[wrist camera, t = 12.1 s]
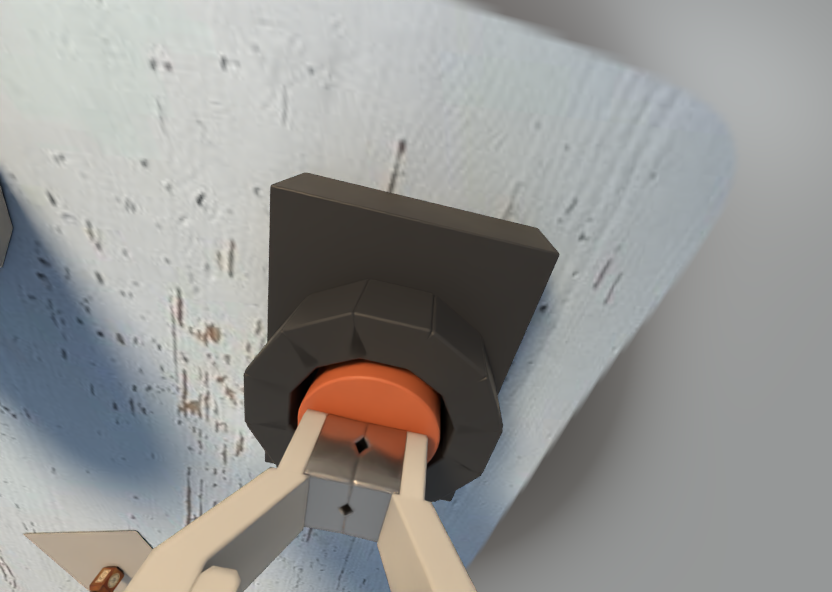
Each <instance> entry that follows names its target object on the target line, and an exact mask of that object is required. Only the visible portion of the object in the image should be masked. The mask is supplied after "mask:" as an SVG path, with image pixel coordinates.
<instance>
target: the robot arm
mask: <svg viewBox="0 0 832 592" xmlns="http://www.w3.org/2000/svg"><path fill="white" fill-rule="evenodd" d="M427 450H428V437H427V435H423V434H419V433H414V432H410V431H406V430H402V429H397V428H392V427H387V426H382V425H378V424H373V423H365V422H361V421H357V420H353V419H349V418H345V417H341V416H337V415H333V414H328V413H324V412H320V411H316V410H312V409H308V410H307V411H306V412H305V413H304V415H303V417H302V419H301V421H300V423H299V425H298V427H297V429H296V431H295V433H294V435H293V437H292V439H291V441H290V443H289V445H288V447H287V449H286V451H285V454H284V456H283V458H282V460H281V462H280V464H279V466H278V468H273V467H270V468H269V469H267V470H266V471H264V472H263V473H261V474H260V475H259V476H257V477H256V478H254V479H253V480H251V481H250V482H249V483H247V484H246V485H244V486H243V487H241V488H240V489H239V490H237V491H236V492H234V493H233V494H231V495H230V496H229V497H227V498H226V499H224V500H223V501H221V502H220V503H219V504H217V505H216V506H214V507H213V508H211V509H210V510H208V511H207V512H206V513H204V514H203V515H201V516H200V517H198V518H197V519H196V520H194V521H193V522H191V523H190V524H188V525H187V526H186V527H184V528H183V529H181V530H180V531H178V532H177V533H176V534H174V535H173V536H171V537H170V538H168V539H167V540H166V541H164V542H163V543H161V544H160V545H158V546H157V547H156V548H154V549H153V550H152V551H151V552H150V554H149V555H148V557H147V558H146V560H145V561H144V563H143V564H142V565H141V567H140V568H139V570H138V571H137V573H136V574H135V576H134V577H133V578H132V580H131V581H130V583H129V584H128V586H127V587H126V589H125V590H124V591H123V592H243V591H244V590H245V589H246V588H247V587H248V586H249V585H250V584H251V583H252V582H253V581H254V580H255V579H256V578H257V577H258V576H259V575H260V574H261V573H262V572H263V571H264V570H265V569H266V568H267V567H268V566H269V565H270V563H271V562H272V561H273V560H274V559H275V558H276V557H277V556H278V555H279V554H280V553H281V552H282V551H283V550H284V549H285V548H286V547H287V546H288V545H289V544H290V543H291V542H292V541H293V540H294V539H295V538H296V536H297V535H298V534H299V533H300V532H301V531H302V530H303V528H304V527H309V528H314V529H320V530H326V531H331V532H337V533H342V534H346V535H350V536H354V537H358V538H362V539H366V540H371V541H375V542H378V543H377V546H378V549H379V553H380V556H381V559H382V563H383V566H384V570H385V573H386V577H387V580H388V583H389V587H390V590H391V592H477V590H476V589H475V587H474V584H473V583H472V581H471V579H470V577H469V575H468V573H467V571H466V569H465V567H464V565H463V563H462V561H461V559H460V557H459V555H458V553H457V551H456V549H455V547H454V545H453V544H452V542H451V540H450V538H449V536H448V534H447V532H446V530H445V528H444V526H443V524H442V522H441V520H440V518H439V516H438V514H437V512H436V510H435V508H434V506H433V505H432V503H431V502H430V501H426V500H425V486H426V468H427Z"/></svg>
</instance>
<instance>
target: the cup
mask: <svg viewBox="0 0 832 592" xmlns="http://www.w3.org/2000/svg"><path fill="white" fill-rule="evenodd" d="M12 229H13V227H12V224H11V220H10V217H9V214H8V210H7V207H6V203H5V200H4V196H3V193H2V189H1V186H0V268H1V267H2V266H3V262H4V259H5V255H6V251H7V248H8V244H9V240H10V237H11V233H12Z"/></svg>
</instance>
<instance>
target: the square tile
mask: <svg viewBox="0 0 832 592" xmlns="http://www.w3.org/2000/svg"><path fill="white" fill-rule="evenodd" d="M24 535H25V536H26V537H27V538H28V539H29V540H31V541H32V542H33V543H34V544H35V545H36V546H38V547H39V548H40V549H41V550H42V551H43V552H44V553H46V554H47V555H48V556H49V557H50V558H51V559H53V560H54V561H55V562H56V563H57V564H58V565H60V566H61V567H62V568H63V569H64V570H65V571H66V572H68V573H69V574H70V575H71V576H72V577H73V578H75V579H76V580H77V581H78V582H79V583H80V584H82V585H83V586H84V587H85V588H86V589H87V590H88V591H90V592H123V591H124V590H125V589H126V587H127V586H128V584H129V583H130V581H131V580H132V578H133V577H134V576H135V574H136V573H137V571H138V570H139V568H140V567H141V565H142V564H143V563H144V561H145V560H146V558H147V557H148V555H149V554H150V552H151V551H152V550H153V549H152V548H151V547H150V546H149V545H148V544H147V543H146V541H145V540H144V539H143V538H142V537H141V536H140V535H139V534H138V533H137V532H136V531H110V532H73V533H36V534H24Z"/></svg>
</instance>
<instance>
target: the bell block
mask: <svg viewBox="0 0 832 592" xmlns="http://www.w3.org/2000/svg"><path fill="white" fill-rule="evenodd" d="M558 257H559V253H558V252H557V250H556V249H555V248H554V247H553V246H552V244H551V243H550V242H549V241H548V240H547V238H546V237H545V236H544V235H543V234H542V233H541V231H540V230H539V229H538V228H535V227H530V226H526V225H522V224H518V223H514V222H510V221H505V220H501V219H497V218H493V217H489V216H485V215H480V214H476V213H472V212H468V211H464V210H460V209H455V208H451V207H447V206H443V205H439V204H435V203H430V202H426V201H422V200H418V199H414V198H410V197H405V196H401V195H397V194H393V193H389V192H385V191H381V190H376V189H372V188H368V187H364V186H360V185H356V184H351V183H347V182H343V181H339V180H335V179H331V178H326V177H322V176H318V175H314V174H310V173H302V174H300V175H297V176H294V177H291V178H289V179H286V180H283V181H281V182H278V183H275V184H272V185H271V188H270V238H269V287H268V337H267V344H266V345H265V346H264V347H263V349H262V350H261V351H260V352H259V353H258V355H257V356H256V357H255V358H254V360H253V361H252V362H251V363H250V365H249V366H248V367H247V368H246V370H245V373H244V408H245V422H246V423H247V426H248V428H249V429H250V430H251V432H252V433H253V435H254V436H255V437H256V439H257V440H258V442H259V443H260V444H261V446H262V447H263V449H264V450H265V462H269V463H274V464H276V465H277V467H278V466H279V464H280V462H281V460H282V458H283V456H284V454H285V451H286V449H287V447H288V445H289V443H290V441H291V439H292V437H293V435H294V433H295V431H296V429H297V427H298V411H299V408H300V405H301V403H302V401H303V399H304V397H305V395H306V393H307V391H308V389H309V387H310V385H311V383H312V381H313V379H314V377H315V375H316V373H317V372H318V370H319V368H320V367H322V366H327V365H332V364H336V363H341V362H345V361H350V360H355V359H359V358H360V359H364V360H369V361H373V362H378V363H382V364H387V365H391V366H395V367H400V368H404V369H408V370H409V371H411V372H412V373H413V374H415V375H416V376H417V377H419V378H420V379H421V380H422V381H424V382H425V383H426V384H428V385H429V386H430V387H431V388H433V389H434V390H435V391H437V392H438V393H439V394H441V421H440V442H439V445H438V448H437V450H436V452H435V454H434V456H433V457H432V459H431V460H430V461H429V462H428V463H427V468H426V486H425V500H426V501H430V502H435V501H437V500H440V499H441V500H446V501H451V500H452V498H453V495H454V493H455V491H456V490H457V489H459V488H461V487H462V486H464V485H466V484H467V483H469V482H471V481H473V480H474V479H476V478H478V477H479V476H481V474H482V473H483V471H484V469H485V467H486V465H487V463H488V461H489V459H490V456H491V454H492V452H493V450H494V448H495V446H496V444H497V442H498V440H499V438H500V436H501V434H502V428H503V423H502V418H501V412H500V407H499V402H498V396H497V395H498V393H499V391H500V389H501V386H502V384H503V382H504V380H505V377H506V375H507V373H508V370H509V368H510V366H511V364H512V361H513V359H514V357H515V355H516V352H517V350H518V348H519V345H520V343H521V341H522V339H523V336H524V334H525V332H526V330H527V327H528V325H529V323H530V321H531V318H532V316H533V314H534V311H535V309H536V307H537V305H538V302H539V300H540V298H541V296H542V293H543V291H544V289H545V286H546V284H547V282H548V280H549V277H550V275H551V273H552V271H553V268H554V266H555V264H556V262H557V259H558Z"/></svg>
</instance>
